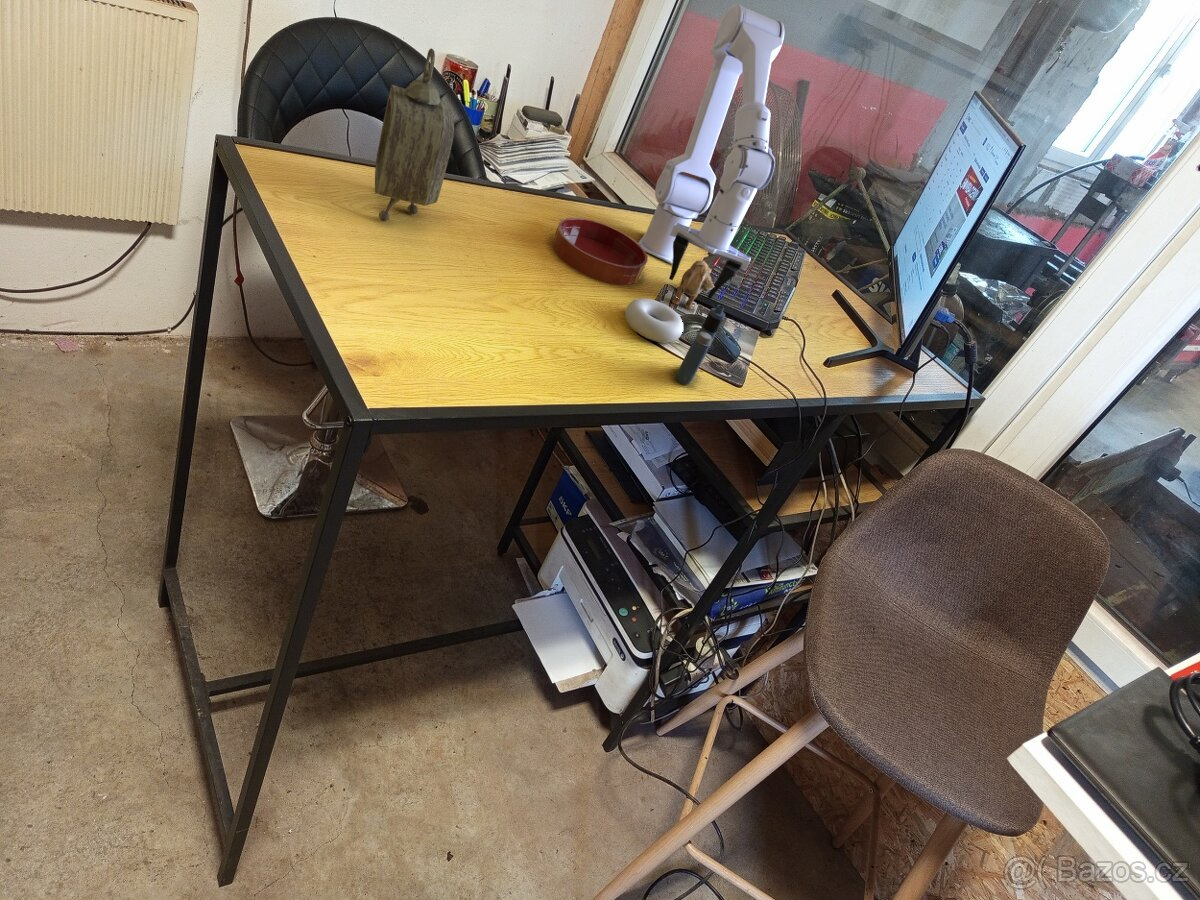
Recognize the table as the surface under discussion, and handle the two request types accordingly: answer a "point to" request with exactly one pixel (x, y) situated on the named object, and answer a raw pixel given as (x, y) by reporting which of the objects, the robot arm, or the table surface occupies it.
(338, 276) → the table surface
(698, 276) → the lion figurine
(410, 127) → the wooden cowbell
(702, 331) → the vaping device
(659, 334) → the donut
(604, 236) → the bowl
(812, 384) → the table surface
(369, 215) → the table surface
